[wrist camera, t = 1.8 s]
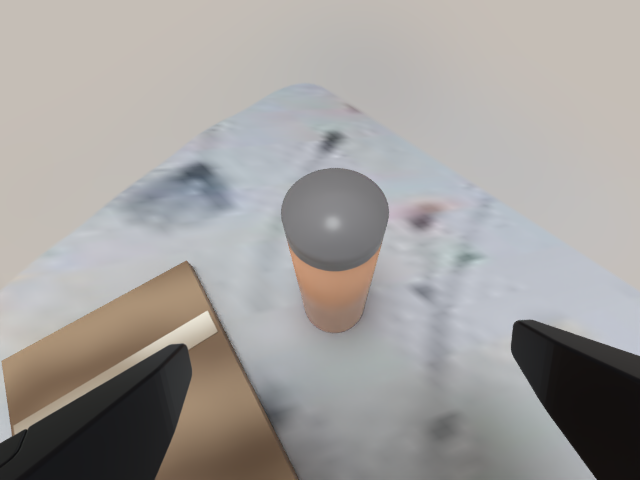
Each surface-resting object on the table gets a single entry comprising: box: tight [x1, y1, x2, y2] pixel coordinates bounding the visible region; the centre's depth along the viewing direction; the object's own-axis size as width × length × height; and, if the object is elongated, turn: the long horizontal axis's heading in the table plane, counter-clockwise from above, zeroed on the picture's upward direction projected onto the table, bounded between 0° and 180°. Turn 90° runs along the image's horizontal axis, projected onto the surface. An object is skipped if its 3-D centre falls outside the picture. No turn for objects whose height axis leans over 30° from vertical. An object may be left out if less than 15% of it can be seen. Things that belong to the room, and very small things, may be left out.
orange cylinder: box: [281, 168, 389, 333], centre depth 17 cm, size 4×4×11 cm
